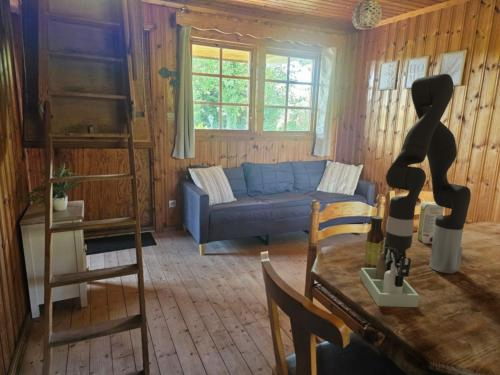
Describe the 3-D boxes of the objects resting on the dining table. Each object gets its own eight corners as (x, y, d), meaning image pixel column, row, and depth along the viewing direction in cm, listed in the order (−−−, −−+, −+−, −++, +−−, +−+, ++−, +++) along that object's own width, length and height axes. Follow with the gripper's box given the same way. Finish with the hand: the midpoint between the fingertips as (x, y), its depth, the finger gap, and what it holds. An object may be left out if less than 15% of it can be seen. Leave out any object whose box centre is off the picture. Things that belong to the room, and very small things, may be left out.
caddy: (393, 278, 117) (397, 247, 114) (417, 307, 99) (422, 270, 96) (359, 278, 117) (362, 246, 114) (377, 305, 99) (381, 269, 97)
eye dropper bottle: (383, 289, 107) (387, 256, 104) (401, 294, 104) (406, 260, 101) (381, 295, 103) (385, 261, 100) (400, 301, 100) (405, 265, 98)
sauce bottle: (382, 271, 123) (388, 220, 119) (365, 269, 124) (370, 219, 120) (379, 263, 129) (384, 215, 125) (363, 262, 130) (367, 214, 126)
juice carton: (441, 244, 151) (446, 205, 147) (422, 244, 151) (427, 204, 147) (432, 238, 158) (437, 201, 154) (414, 238, 158) (419, 200, 154)
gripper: (423, 239, 92) (416, 292, 95) (401, 223, 106) (396, 270, 109) (396, 238, 92) (390, 292, 96) (378, 223, 106) (373, 270, 110)
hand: (393, 280), depth 102 cm, fingers open, 6 cm apart
